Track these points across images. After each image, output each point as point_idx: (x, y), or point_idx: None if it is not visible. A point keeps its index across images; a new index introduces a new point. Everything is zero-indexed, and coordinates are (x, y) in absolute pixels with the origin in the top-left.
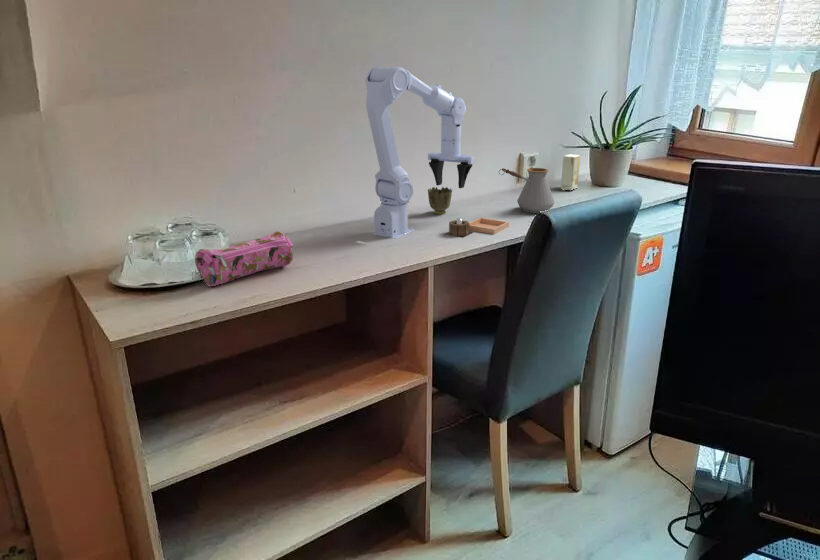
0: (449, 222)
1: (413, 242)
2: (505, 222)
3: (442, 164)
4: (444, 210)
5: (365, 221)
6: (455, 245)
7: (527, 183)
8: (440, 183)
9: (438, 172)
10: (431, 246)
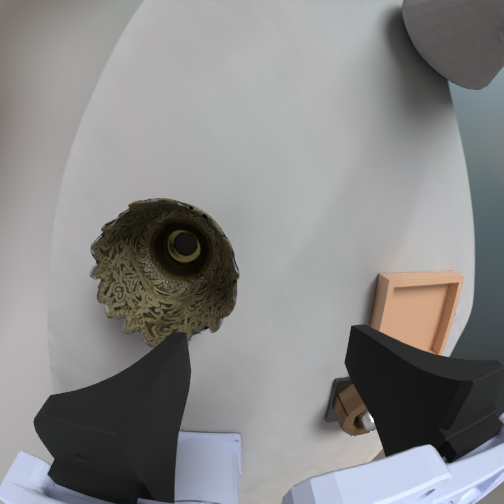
0: (343, 430)
1: (282, 466)
2: (456, 282)
3: (144, 426)
4: (204, 244)
5: None
6: (368, 437)
7: (487, 29)
8: (186, 350)
9: (172, 427)
10: (326, 461)
